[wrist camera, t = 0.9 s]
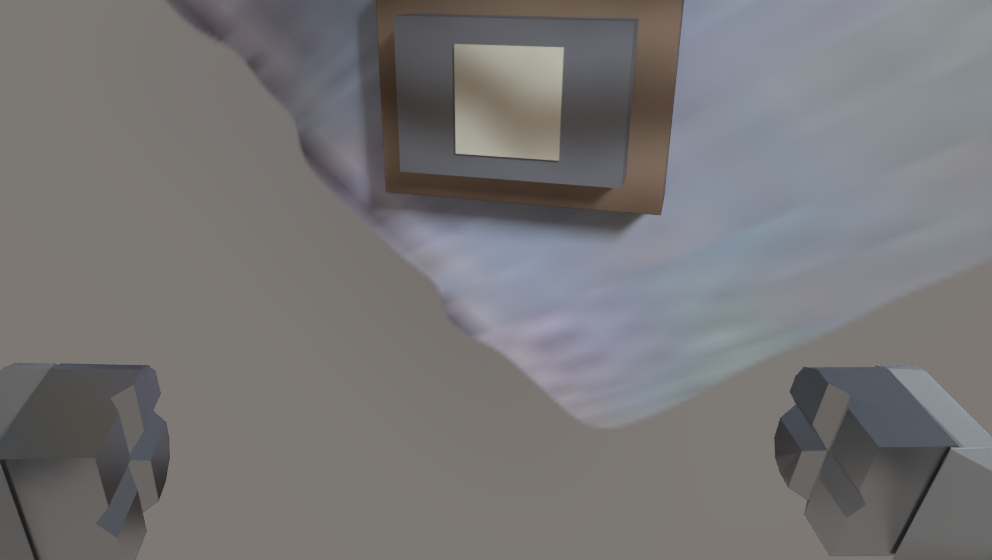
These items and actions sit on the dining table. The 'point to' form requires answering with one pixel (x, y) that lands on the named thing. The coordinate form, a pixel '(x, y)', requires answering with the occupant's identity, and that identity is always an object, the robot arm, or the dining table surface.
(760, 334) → the dining table surface
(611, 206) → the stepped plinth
